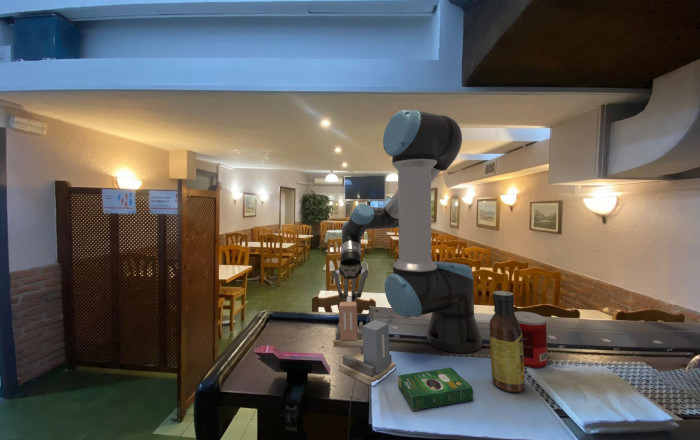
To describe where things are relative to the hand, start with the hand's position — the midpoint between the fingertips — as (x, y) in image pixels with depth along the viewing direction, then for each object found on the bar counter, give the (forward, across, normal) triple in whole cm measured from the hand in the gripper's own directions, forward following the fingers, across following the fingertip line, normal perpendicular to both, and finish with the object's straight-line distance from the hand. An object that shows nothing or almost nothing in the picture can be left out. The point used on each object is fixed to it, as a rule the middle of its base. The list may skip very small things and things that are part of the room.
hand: (349, 317), depth 85 cm
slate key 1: (+17, -8, +11) cm, 22 cm away
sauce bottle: (+21, -36, +12) cm, 44 cm away
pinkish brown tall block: (+6, 0, -1) cm, 6 cm away
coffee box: (+21, -26, +14) cm, 36 cm away
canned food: (+14, -46, +5) cm, 48 cm away
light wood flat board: (+11, -3, +2) cm, 11 cm away
